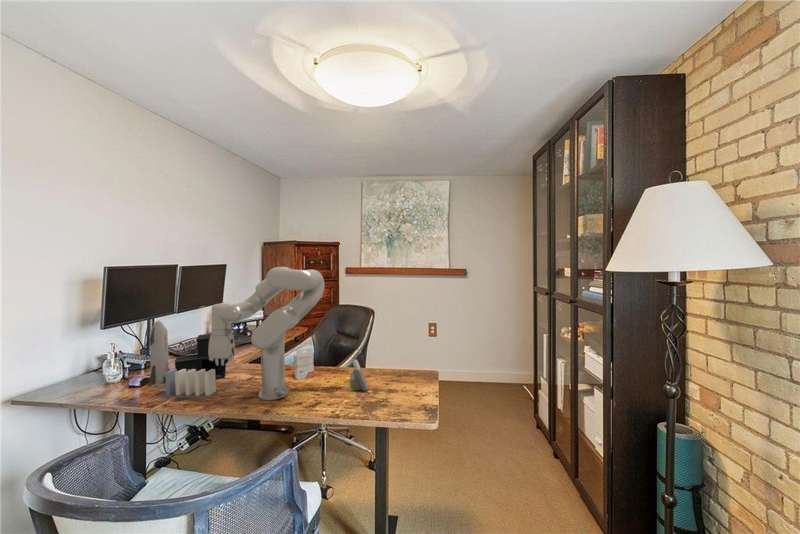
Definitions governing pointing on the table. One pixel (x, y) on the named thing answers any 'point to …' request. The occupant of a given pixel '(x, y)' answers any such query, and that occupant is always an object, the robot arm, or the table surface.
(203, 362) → the black desk organizer
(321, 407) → the table surface
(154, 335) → the rocket model
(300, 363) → the ink cartridge box
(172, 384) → the domino
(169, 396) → the mat
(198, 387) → the domino
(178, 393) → the domino
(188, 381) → the domino
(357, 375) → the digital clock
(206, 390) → the domino
